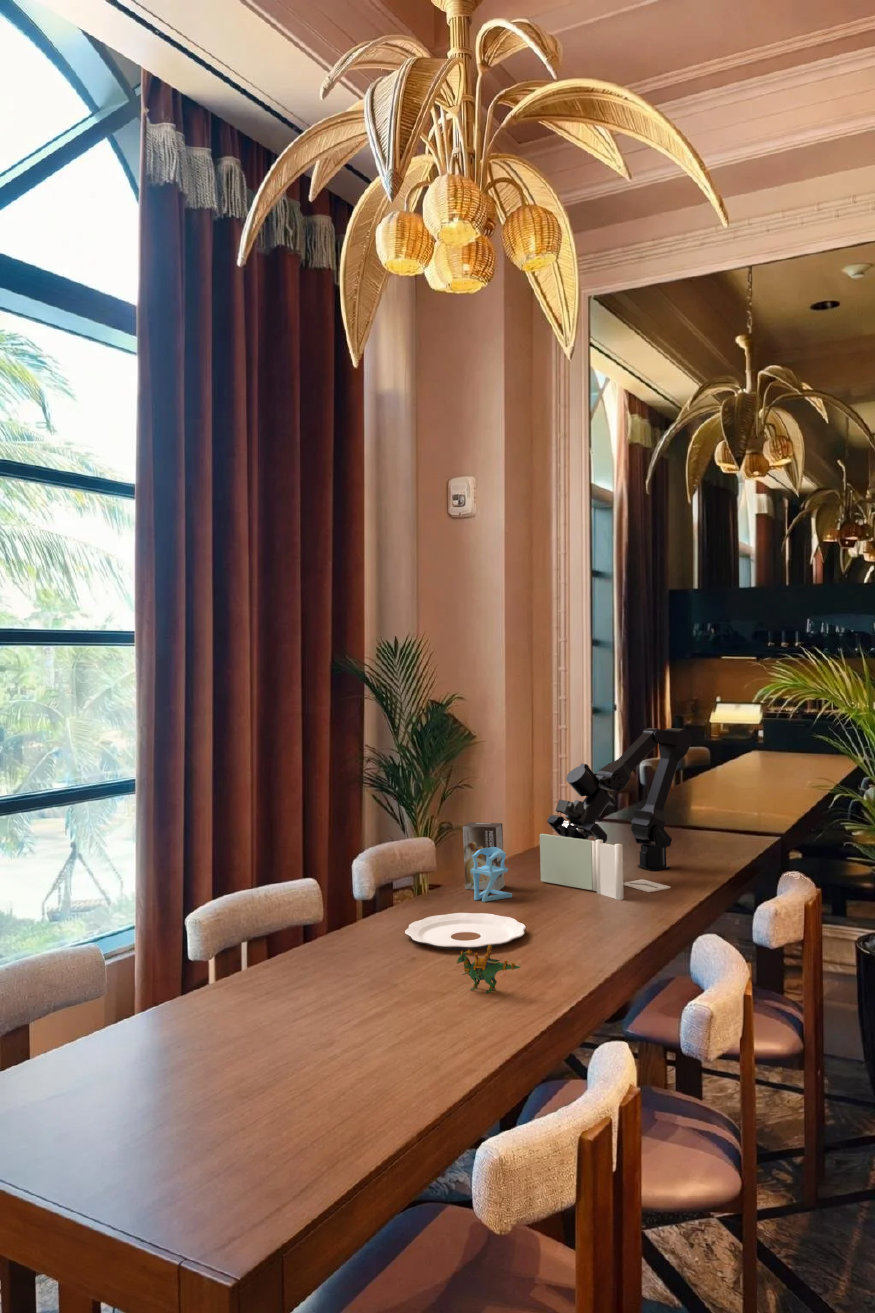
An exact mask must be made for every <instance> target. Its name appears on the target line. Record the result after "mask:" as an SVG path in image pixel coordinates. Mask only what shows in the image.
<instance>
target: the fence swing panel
mask: <svg viewBox="0 0 875 1313" xmlns="http://www.w3.org/2000/svg"><path fill="white" fill-rule="evenodd" d="M539 857H540V858H539V862H540V867H539V868H540V870H539V871H540V882H545V883H549V884H554V885H555V884H556V885H561V886H566V887H573V888H578V889H583V890H589V891H595V892H597V878H596V841H595V840H590V839H588V840H585V839H577V838H570V837H563V836H560V835H554V834H548V833H547V834H546V833H540V834H539Z"/></svg>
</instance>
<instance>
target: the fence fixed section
mask: <svg viewBox="0 0 875 1313" xmlns="http://www.w3.org/2000/svg"><path fill="white" fill-rule="evenodd" d="M623 858H624V856H623V844H622V843H615V844H609V843H603V840H600V839H598V840H596V878H597V891H596V894H598V895H601V896H604V897H608V898H612V899H615V900H617V901H622V900H624V885H623V883H624V862H623V860H624V859H623Z"/></svg>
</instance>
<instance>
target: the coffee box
mask: <svg viewBox="0 0 875 1313" xmlns="http://www.w3.org/2000/svg"><path fill="white" fill-rule="evenodd" d="M503 829H504V828H503V823H501V822H500V823H499V822H480V821H478V822H472V821H470V822H468V823H465V825H463V826H462V837H463V839H462V840H463V841H462V842H463V844H462V845H463V866H464V867H463V868H464V870H463V871H464V889H465V890H474V876H473V873H471V869H473V868H474V861H473V857H472V855H474V854H475V853H476V851H478V850H480V849H483V848H490V847H497V848H499V849H501V850H502V851H504V835H503V832H504V831H503ZM491 856H492V855H489V857H491ZM486 857H487V856H486V855H485V854H479V855H478V856H477V858H476V861H477V863H478V867H482V866H484V865H486ZM502 859H503V858H502V857H500V856H499V857H497V858H495V859H494V860H493V861H492V865H493V866H497V867H501V861H502ZM478 867H477V868H478ZM489 882H490V876H487V875H484V874H480V876H479V891H484V890H486V889H487V887H488V884H489ZM504 887H505V872H504V873H502V874H501V875H499V876H498V877H497V878H496V880H495V882H494V884H493V886H492V888H491V889H492V890H497V891H501V889H503V888H504Z"/></svg>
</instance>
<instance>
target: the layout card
mask: <svg viewBox="0 0 875 1313" xmlns="http://www.w3.org/2000/svg"><path fill="white" fill-rule="evenodd" d="M623 886H625V887H629V888H632V889H633V888H634V889H637V890H639V891H643V892H647V893H652V892H657V891H663V890H668V889H671V886H669V885H666V884H662V883H659V882H654V881H650V880H647V879H642V878H641V879H638V880H637V879H636V880H630V881H626V882H624V881H623Z"/></svg>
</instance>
